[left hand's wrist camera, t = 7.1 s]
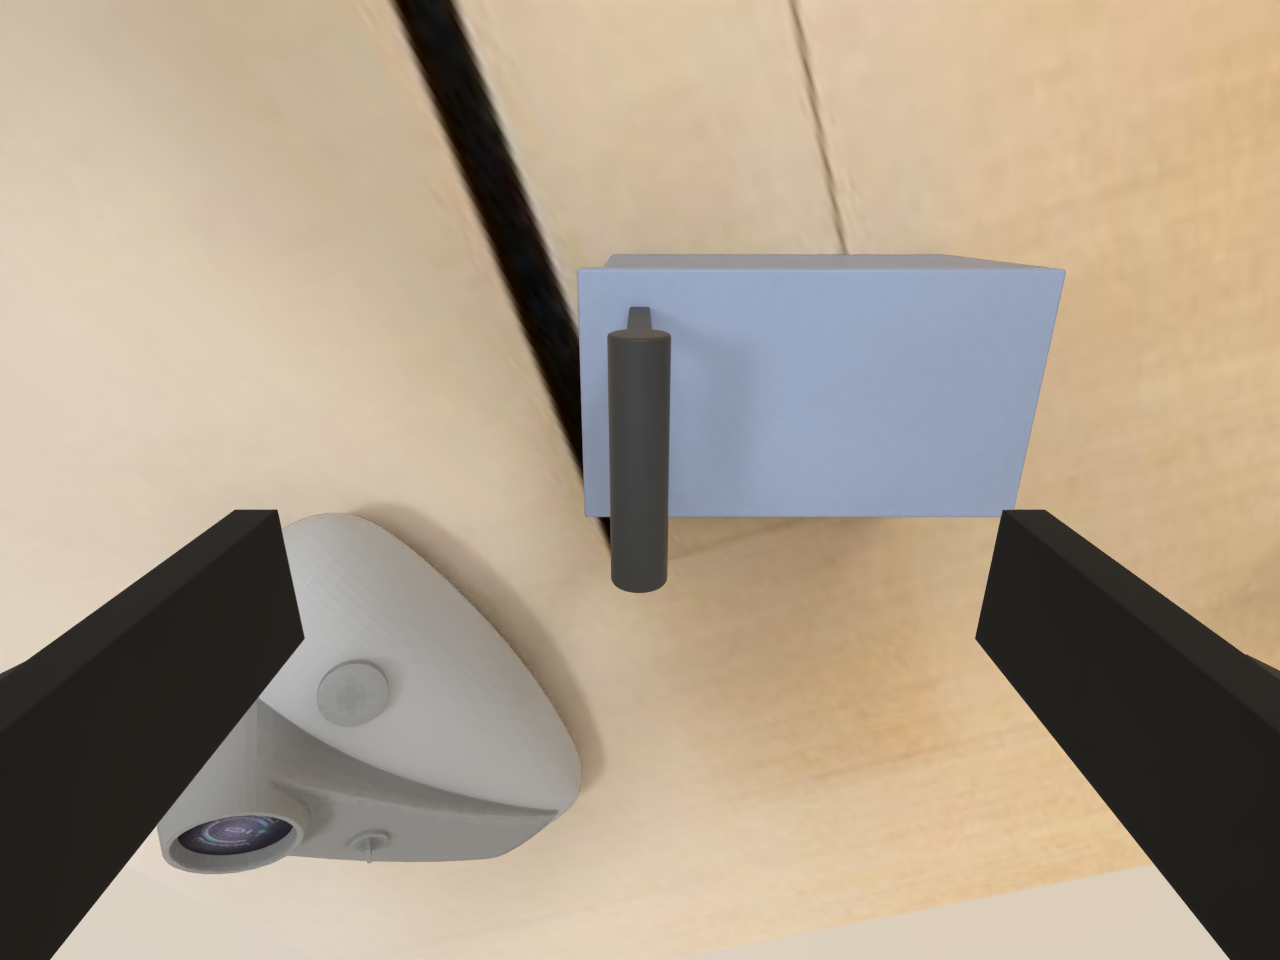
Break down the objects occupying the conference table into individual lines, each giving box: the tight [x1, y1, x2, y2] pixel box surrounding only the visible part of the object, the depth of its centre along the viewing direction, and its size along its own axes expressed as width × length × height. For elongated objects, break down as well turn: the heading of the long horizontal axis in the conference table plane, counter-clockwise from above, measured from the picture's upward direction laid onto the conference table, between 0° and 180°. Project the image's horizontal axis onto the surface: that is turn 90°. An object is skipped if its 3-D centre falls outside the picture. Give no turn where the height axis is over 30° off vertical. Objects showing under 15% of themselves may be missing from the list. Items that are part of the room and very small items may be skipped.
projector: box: [157, 513, 582, 874], centre depth 33 cm, size 22×23×15 cm
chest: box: [603, 255, 1048, 268], centre depth 29 cm, size 16×9×9 cm, turn 90°
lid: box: [577, 268, 1066, 593], centre depth 21 cm, size 16×9×8 cm, turn 90°
